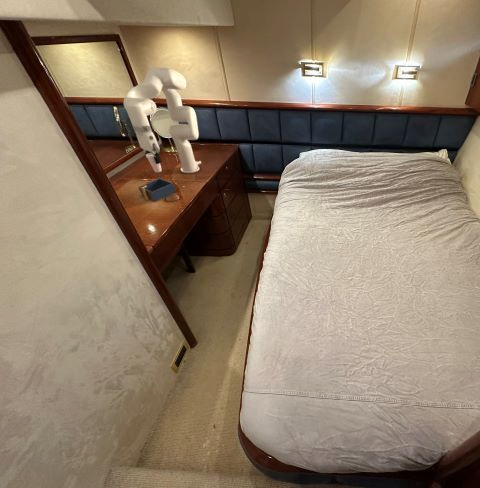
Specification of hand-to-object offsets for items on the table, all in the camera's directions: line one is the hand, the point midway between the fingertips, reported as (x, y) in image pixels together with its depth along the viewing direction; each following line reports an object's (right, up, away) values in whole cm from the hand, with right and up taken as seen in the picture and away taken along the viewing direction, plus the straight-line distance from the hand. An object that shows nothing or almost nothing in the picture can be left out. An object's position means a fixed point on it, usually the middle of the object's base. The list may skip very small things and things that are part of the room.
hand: (154, 161), depth 148 cm
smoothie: (0, -5, +4) cm, 6 cm away
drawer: (-8, -15, +17) cm, 24 cm away
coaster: (+3, -19, +13) cm, 23 cm away
